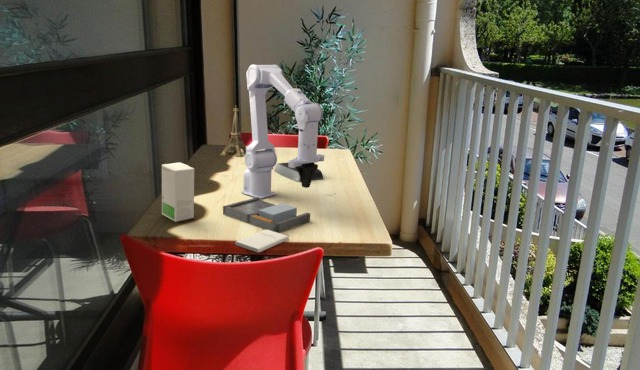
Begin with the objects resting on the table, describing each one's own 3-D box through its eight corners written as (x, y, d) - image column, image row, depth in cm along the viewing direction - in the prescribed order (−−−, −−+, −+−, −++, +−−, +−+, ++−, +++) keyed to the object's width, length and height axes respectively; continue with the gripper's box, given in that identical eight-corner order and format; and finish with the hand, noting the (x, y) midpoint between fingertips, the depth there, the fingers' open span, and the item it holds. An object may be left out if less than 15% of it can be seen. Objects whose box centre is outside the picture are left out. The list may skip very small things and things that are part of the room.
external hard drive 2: (297, 183, 203) (297, 173, 202) (272, 172, 218) (272, 162, 217) (325, 180, 210) (325, 170, 209) (299, 169, 225) (299, 159, 224)
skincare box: (161, 215, 160) (159, 164, 156) (181, 210, 165) (179, 161, 161) (176, 222, 155) (174, 170, 151) (195, 218, 159) (195, 167, 155)
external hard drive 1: (234, 246, 141) (265, 234, 151) (258, 255, 136) (288, 241, 146) (234, 241, 141) (265, 228, 150) (258, 249, 136) (288, 235, 146)
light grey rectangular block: (258, 222, 159) (258, 209, 158) (282, 215, 166) (282, 203, 165) (272, 227, 155) (273, 214, 154) (296, 220, 162) (296, 207, 161)
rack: (223, 214, 164) (223, 205, 163) (257, 204, 175) (257, 196, 174) (276, 233, 150) (276, 223, 149) (309, 221, 161) (310, 212, 160)
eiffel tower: (240, 157, 239) (241, 101, 233) (219, 154, 242) (219, 99, 236) (251, 153, 249) (251, 99, 243) (230, 150, 252) (230, 97, 246)
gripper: (301, 149, 154) (299, 194, 158) (332, 143, 165) (330, 185, 169) (283, 145, 158) (282, 189, 162) (315, 139, 169) (313, 180, 173)
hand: (305, 186), depth 166 cm, fingers closed
